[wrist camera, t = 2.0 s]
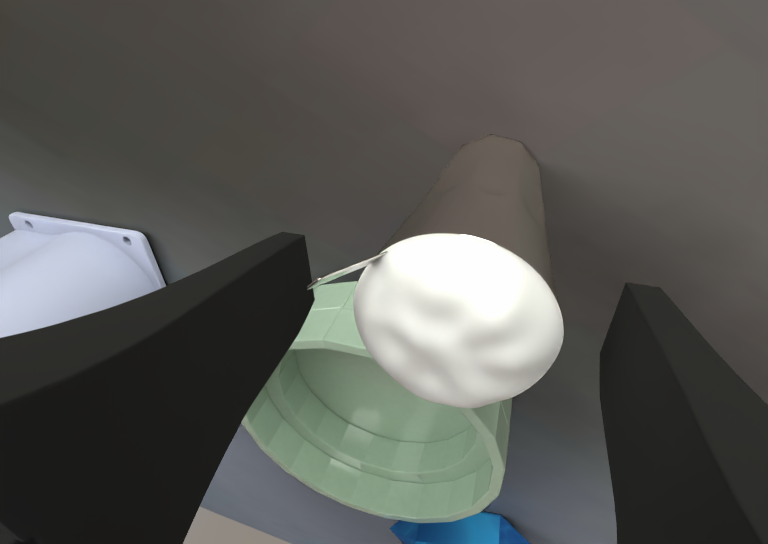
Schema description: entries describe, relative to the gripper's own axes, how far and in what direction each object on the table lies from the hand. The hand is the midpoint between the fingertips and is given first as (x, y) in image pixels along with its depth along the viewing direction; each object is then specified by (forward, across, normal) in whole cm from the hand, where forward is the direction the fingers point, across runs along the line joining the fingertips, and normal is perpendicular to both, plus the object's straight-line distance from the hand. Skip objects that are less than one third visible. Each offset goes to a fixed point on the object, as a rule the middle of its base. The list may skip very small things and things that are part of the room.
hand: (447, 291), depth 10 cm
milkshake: (+7, 0, 0) cm, 7 cm away
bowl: (+7, +4, +12) cm, 15 cm away
